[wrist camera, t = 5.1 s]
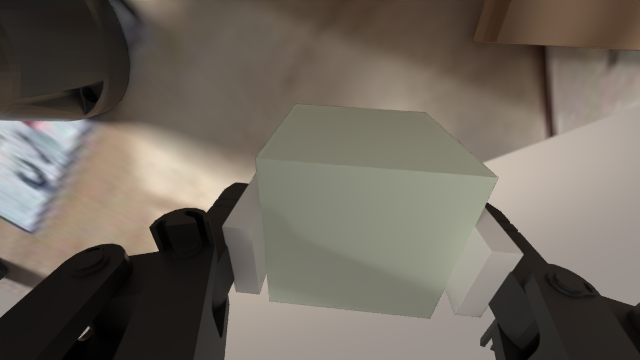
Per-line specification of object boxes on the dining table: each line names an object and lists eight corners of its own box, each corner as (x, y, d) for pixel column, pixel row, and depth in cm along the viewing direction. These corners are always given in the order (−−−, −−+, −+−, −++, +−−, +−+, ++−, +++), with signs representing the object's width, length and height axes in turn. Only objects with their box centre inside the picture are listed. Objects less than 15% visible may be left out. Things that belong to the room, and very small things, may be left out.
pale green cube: (296, 206, 14) (269, 301, 9) (295, 103, 11) (255, 158, 6) (398, 215, 14) (430, 318, 9) (426, 112, 11) (499, 177, 6)
